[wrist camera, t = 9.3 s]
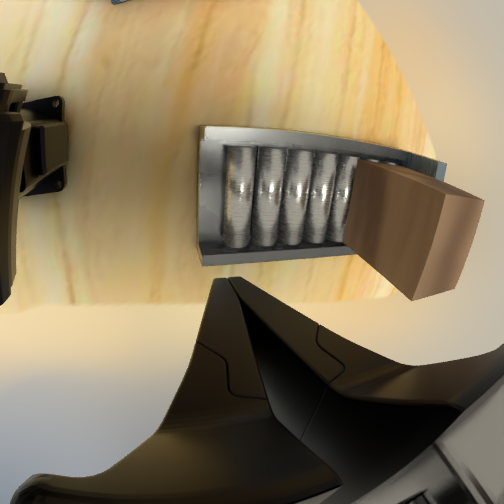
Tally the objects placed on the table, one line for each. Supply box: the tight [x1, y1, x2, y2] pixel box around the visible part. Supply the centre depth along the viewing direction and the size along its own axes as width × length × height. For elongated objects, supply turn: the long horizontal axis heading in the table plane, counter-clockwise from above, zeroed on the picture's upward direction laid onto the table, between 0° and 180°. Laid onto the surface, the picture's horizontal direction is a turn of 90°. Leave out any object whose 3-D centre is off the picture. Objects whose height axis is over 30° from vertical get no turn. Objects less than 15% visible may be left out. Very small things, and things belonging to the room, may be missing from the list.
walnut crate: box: [342, 159, 484, 301], centre depth 17 cm, size 5×6×8 cm
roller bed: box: [197, 125, 447, 266], centre depth 19 cm, size 17×9×6 cm, turn 86°
